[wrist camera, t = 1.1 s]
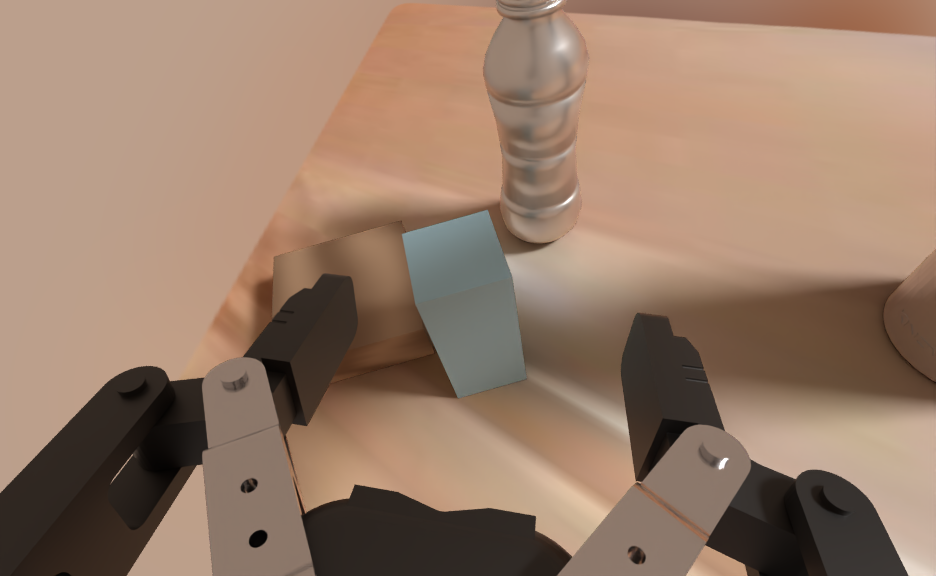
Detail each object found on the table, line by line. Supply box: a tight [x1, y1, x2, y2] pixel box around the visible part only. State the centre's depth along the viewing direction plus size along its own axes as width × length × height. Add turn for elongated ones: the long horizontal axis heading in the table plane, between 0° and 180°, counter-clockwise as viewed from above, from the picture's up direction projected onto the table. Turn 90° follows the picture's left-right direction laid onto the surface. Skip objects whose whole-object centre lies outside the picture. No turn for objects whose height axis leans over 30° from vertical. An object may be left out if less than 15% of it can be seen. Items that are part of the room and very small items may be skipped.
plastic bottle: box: [483, 0, 589, 243], centre depth 33 cm, size 6×7×20 cm
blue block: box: [402, 210, 527, 398], centre depth 30 cm, size 5×5×12 cm
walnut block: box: [272, 221, 434, 383], centre depth 37 cm, size 11×11×4 cm
